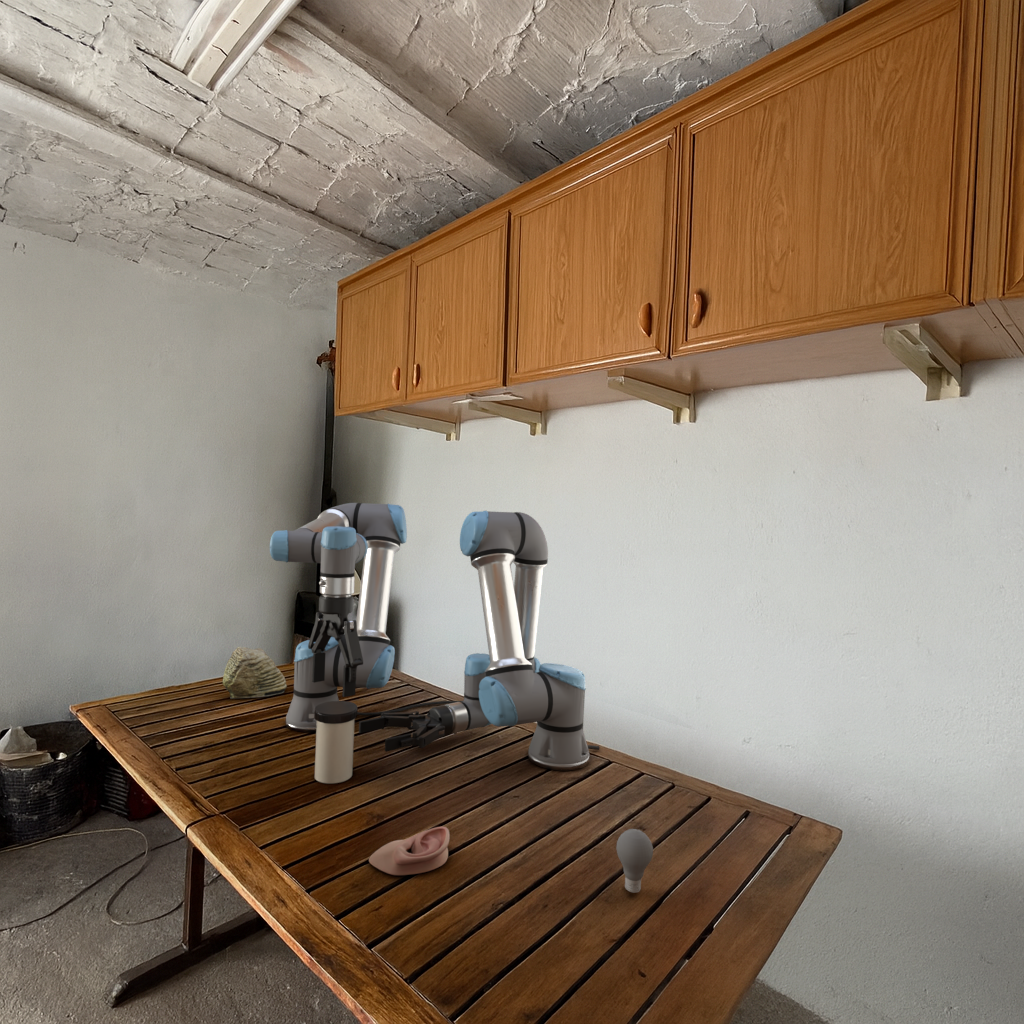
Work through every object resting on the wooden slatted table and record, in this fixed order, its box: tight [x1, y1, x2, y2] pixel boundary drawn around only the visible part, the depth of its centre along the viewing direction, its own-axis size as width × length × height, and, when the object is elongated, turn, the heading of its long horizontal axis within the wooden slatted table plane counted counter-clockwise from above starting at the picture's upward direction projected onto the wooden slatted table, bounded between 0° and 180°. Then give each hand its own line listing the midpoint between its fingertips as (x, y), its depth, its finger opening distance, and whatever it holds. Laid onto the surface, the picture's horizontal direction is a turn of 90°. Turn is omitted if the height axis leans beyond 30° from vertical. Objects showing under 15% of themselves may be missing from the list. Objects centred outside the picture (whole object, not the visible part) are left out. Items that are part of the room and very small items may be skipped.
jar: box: [313, 718, 356, 784], centre depth 144 cm, size 8×8×15 cm
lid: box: [314, 700, 359, 724], centre depth 144 cm, size 9×9×2 cm
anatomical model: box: [368, 826, 451, 876], centre depth 112 cm, size 13×4×12 cm
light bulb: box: [615, 828, 654, 894], centre depth 106 cm, size 6×6×10 cm
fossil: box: [222, 646, 288, 699], centre depth 198 cm, size 9×18×15 cm, turn 132°
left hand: (333, 688), depth 143 cm, fingers open, 13 cm apart
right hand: (372, 736), depth 152 cm, fingers open, 13 cm apart
